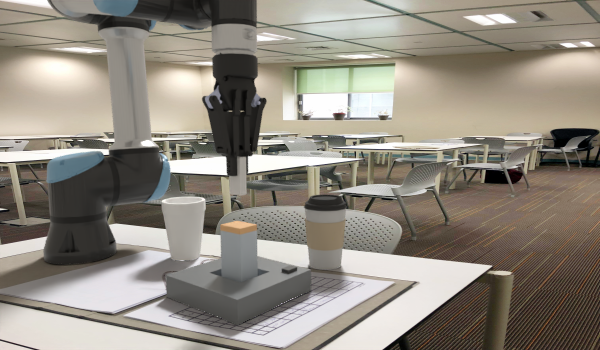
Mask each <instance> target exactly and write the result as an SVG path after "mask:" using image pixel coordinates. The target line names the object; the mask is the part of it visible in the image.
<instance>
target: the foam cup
mask: <svg viewBox="0 0 600 350" xmlns="http://www.w3.org/2000/svg"><path fill="white" fill-rule="evenodd" d="M206 209H207V208H206V199H205V198H204V197H200V196H177V197H176V196H175V197H169V198H165V199H162V200H161V212H162V214H163V220H164V224H165V225H164V226H165V231H166V237H167V242H168V248H169V254H170V258H171V260H172V259H174V260H173V261H175V260H190V261H193V260H192V259H195V260H196V258H197V259H199V258H200V257H201V250H202V242H203V241H202V240H203V231H204V230H203V229H204V221H205V212H206Z"/></svg>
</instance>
